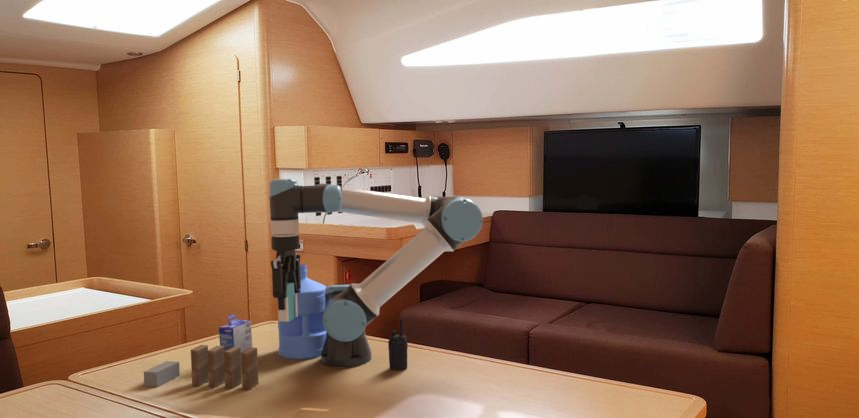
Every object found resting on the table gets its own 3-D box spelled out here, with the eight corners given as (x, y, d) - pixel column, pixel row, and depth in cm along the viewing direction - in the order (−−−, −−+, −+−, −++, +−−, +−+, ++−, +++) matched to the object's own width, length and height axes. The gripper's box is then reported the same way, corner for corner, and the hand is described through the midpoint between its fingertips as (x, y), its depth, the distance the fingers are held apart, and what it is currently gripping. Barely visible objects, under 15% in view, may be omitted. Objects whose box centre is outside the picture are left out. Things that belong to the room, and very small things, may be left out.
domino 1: (209, 380, 182) (207, 345, 182) (198, 386, 178) (197, 350, 177) (202, 380, 183) (201, 344, 182) (192, 386, 178) (190, 349, 177)
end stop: (179, 375, 188) (179, 361, 187) (157, 387, 178) (156, 372, 178) (167, 374, 188) (166, 361, 188) (144, 386, 179) (143, 371, 179)
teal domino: (295, 317, 185) (294, 282, 184) (287, 322, 180) (286, 285, 179) (288, 317, 185) (287, 282, 185) (280, 321, 181) (279, 285, 180)
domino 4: (258, 384, 179) (257, 347, 178) (249, 390, 174) (247, 352, 173) (251, 383, 179) (250, 347, 179) (242, 389, 174) (240, 352, 174)
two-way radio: (408, 368, 191) (407, 316, 190) (406, 372, 186) (405, 320, 185) (389, 367, 191) (388, 316, 190) (387, 372, 187) (386, 320, 186)
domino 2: (225, 381, 181) (224, 346, 181) (215, 387, 176) (213, 351, 176) (218, 381, 182) (217, 345, 181) (208, 387, 177) (207, 350, 176)
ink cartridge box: (238, 357, 204) (236, 311, 203) (253, 359, 203) (252, 312, 202) (219, 367, 195) (217, 319, 194) (235, 368, 193) (234, 319, 192)
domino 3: (241, 382, 180) (240, 346, 179) (232, 389, 175) (230, 352, 175) (235, 382, 181) (233, 346, 180) (225, 388, 176) (223, 351, 175)
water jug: (276, 349, 213) (274, 263, 211) (325, 344, 217) (323, 260, 215) (281, 363, 198) (277, 270, 196) (333, 357, 202) (330, 267, 201)
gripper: (287, 231, 191) (290, 311, 192) (256, 238, 173) (260, 326, 175) (311, 231, 189) (314, 312, 191) (282, 238, 172) (286, 327, 173)
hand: (288, 318), depth 183 cm, fingers closed on teal domino, 5 cm apart
